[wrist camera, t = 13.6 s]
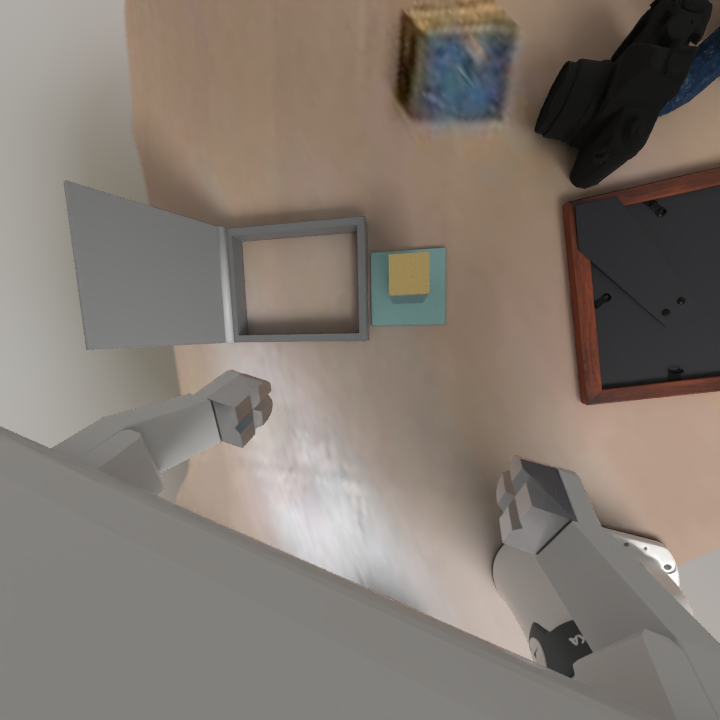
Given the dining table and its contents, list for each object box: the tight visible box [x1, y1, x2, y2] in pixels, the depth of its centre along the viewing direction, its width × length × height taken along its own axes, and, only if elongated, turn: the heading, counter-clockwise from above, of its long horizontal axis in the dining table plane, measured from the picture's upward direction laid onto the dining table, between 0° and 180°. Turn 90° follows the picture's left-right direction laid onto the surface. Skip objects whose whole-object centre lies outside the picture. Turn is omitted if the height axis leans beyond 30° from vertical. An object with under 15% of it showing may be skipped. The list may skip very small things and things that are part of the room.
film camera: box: [535, 0, 712, 189], centre depth 27 cm, size 15×10×9 cm, turn 164°
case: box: [64, 181, 369, 350], centre depth 32 cm, size 27×16×16 cm, turn 91°
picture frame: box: [562, 167, 720, 405], centre depth 32 cm, size 20×2×25 cm
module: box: [389, 252, 430, 304], centre depth 32 cm, size 4×4×10 cm
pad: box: [371, 248, 446, 326], centre depth 37 cm, size 10×10×1 cm
